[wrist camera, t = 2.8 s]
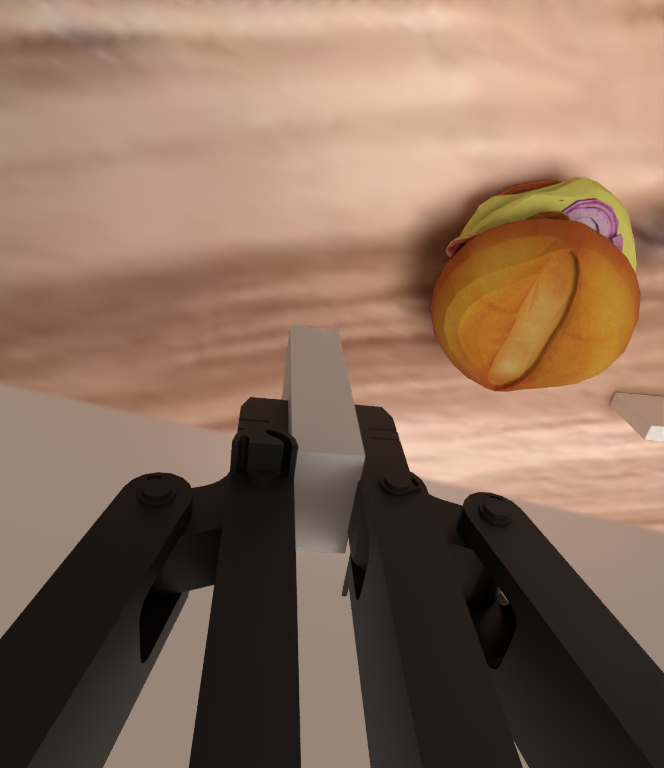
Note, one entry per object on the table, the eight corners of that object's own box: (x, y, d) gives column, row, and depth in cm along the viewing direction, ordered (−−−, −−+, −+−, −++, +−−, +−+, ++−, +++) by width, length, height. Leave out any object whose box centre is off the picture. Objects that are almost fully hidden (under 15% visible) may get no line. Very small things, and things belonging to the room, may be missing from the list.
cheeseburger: (630, 307, 33) (696, 407, 25) (454, 350, 36) (461, 450, 28) (612, 136, 28) (687, 190, 20) (409, 204, 31) (403, 275, 23)
